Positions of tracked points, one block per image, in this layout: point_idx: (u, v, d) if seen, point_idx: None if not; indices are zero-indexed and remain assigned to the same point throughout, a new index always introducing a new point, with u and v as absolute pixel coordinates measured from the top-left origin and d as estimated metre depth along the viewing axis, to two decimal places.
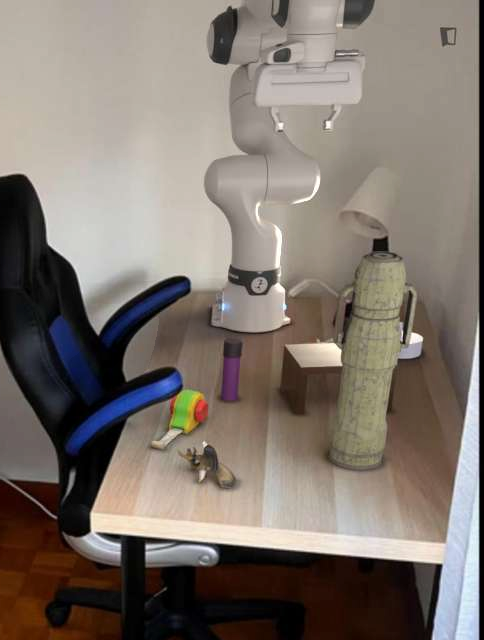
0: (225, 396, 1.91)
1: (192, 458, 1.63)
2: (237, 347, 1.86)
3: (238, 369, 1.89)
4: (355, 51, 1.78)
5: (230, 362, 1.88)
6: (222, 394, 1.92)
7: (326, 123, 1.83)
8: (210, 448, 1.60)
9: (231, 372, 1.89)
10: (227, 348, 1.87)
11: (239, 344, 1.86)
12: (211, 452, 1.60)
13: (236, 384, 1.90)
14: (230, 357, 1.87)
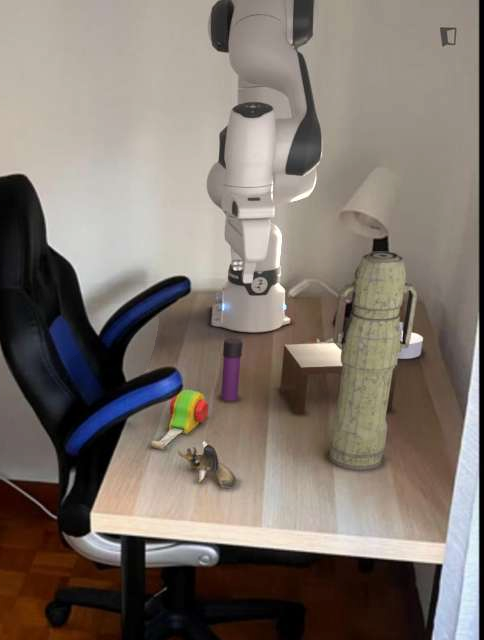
0: (225, 396, 1.91)
1: (192, 458, 1.63)
2: (237, 347, 1.86)
3: (238, 369, 1.89)
4: None
5: (230, 362, 1.88)
6: (222, 394, 1.92)
7: (241, 263, 1.85)
8: (210, 448, 1.60)
9: (231, 372, 1.89)
10: (227, 348, 1.87)
11: (239, 344, 1.86)
12: (211, 452, 1.60)
13: (236, 384, 1.90)
14: (230, 357, 1.87)
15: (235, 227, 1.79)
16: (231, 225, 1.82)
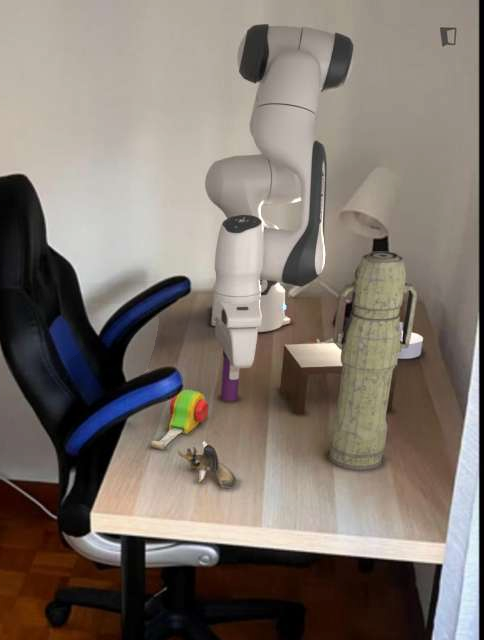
0: (225, 396, 1.91)
1: (192, 458, 1.63)
2: None
3: None
4: None
5: None
6: (222, 394, 1.92)
7: None
8: (210, 448, 1.60)
9: None
10: None
11: None
12: (211, 452, 1.60)
13: (236, 384, 1.90)
14: None
15: (225, 329, 1.87)
16: (221, 326, 1.90)
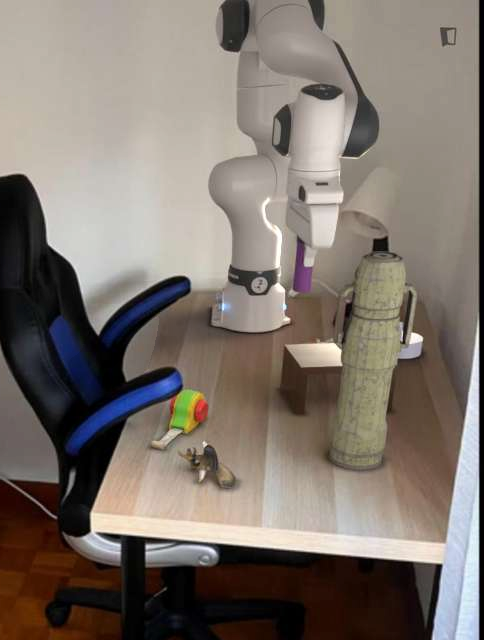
0: (298, 286, 1.79)
1: (192, 458, 1.63)
2: None
3: None
4: None
5: (304, 248, 1.76)
6: (294, 285, 1.80)
7: None
8: (210, 448, 1.60)
9: None
10: None
11: None
12: (211, 452, 1.60)
13: (310, 273, 1.78)
14: None
15: (299, 213, 1.75)
16: (294, 210, 1.78)
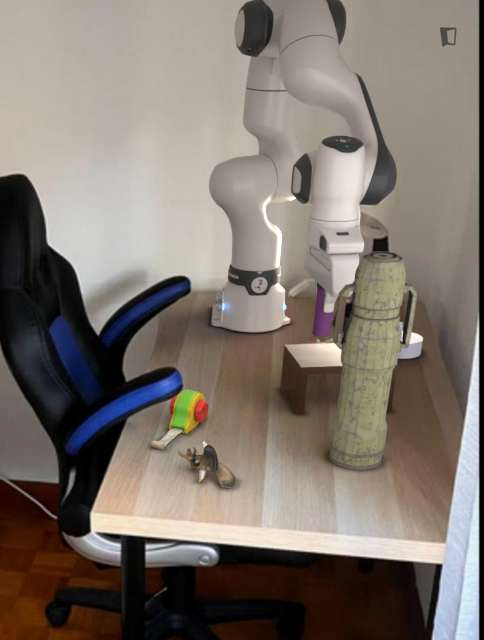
0: (317, 331, 1.83)
1: (192, 458, 1.63)
2: None
3: None
4: None
5: (324, 294, 1.79)
6: (314, 329, 1.83)
7: None
8: (210, 448, 1.60)
9: None
10: None
11: None
12: (211, 452, 1.60)
13: (330, 318, 1.81)
14: None
15: (319, 259, 1.79)
16: (314, 257, 1.81)
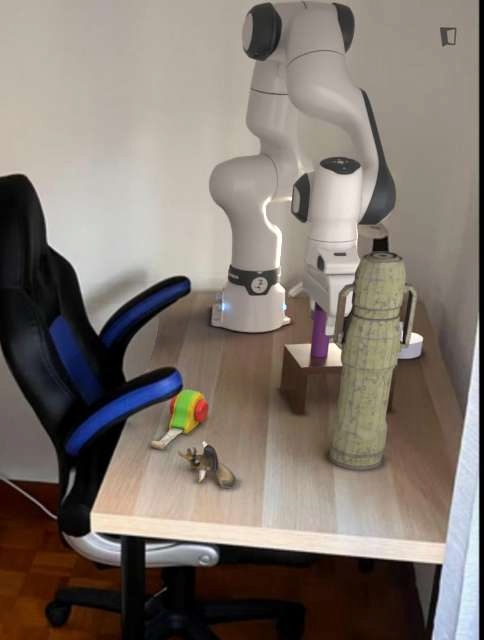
0: (315, 351, 1.84)
1: (192, 458, 1.63)
2: None
3: None
4: None
5: (322, 316, 1.81)
6: (312, 350, 1.85)
7: None
8: (210, 448, 1.60)
9: (323, 326, 1.82)
10: None
11: None
12: (211, 452, 1.60)
13: (327, 339, 1.83)
14: (322, 310, 1.80)
15: (317, 279, 1.80)
16: (312, 276, 1.83)
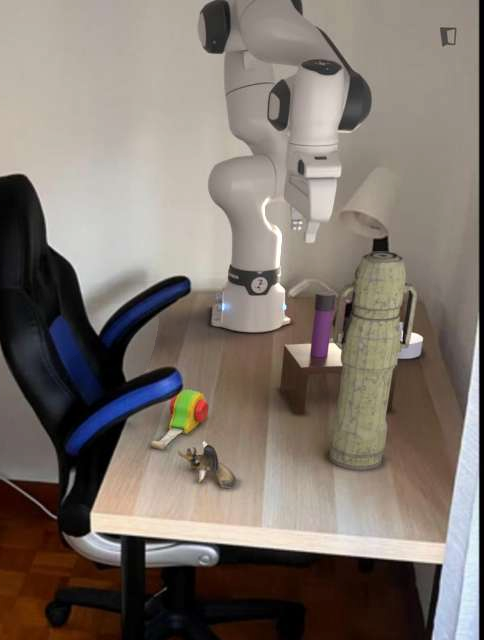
0: (315, 351, 1.84)
1: (192, 458, 1.63)
2: (330, 300, 1.79)
3: (330, 323, 1.82)
4: None
5: (322, 316, 1.81)
6: (312, 350, 1.85)
7: (301, 223, 1.86)
8: (210, 448, 1.60)
9: (323, 326, 1.82)
10: (320, 301, 1.80)
11: (332, 296, 1.79)
12: (211, 452, 1.60)
13: (327, 339, 1.83)
14: (322, 310, 1.80)
15: (298, 186, 1.79)
16: (293, 184, 1.82)
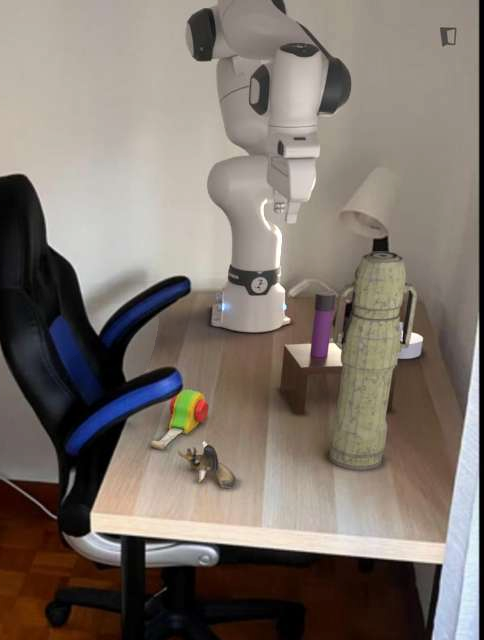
0: (315, 351, 1.84)
1: (192, 458, 1.63)
2: (330, 300, 1.79)
3: (330, 323, 1.82)
4: None
5: (322, 316, 1.81)
6: (312, 350, 1.85)
7: (284, 206, 1.88)
8: (210, 448, 1.60)
9: (323, 326, 1.82)
10: (320, 301, 1.80)
11: (332, 296, 1.79)
12: (211, 452, 1.60)
13: (327, 339, 1.83)
14: (322, 310, 1.80)
15: (279, 169, 1.82)
16: (274, 167, 1.85)
